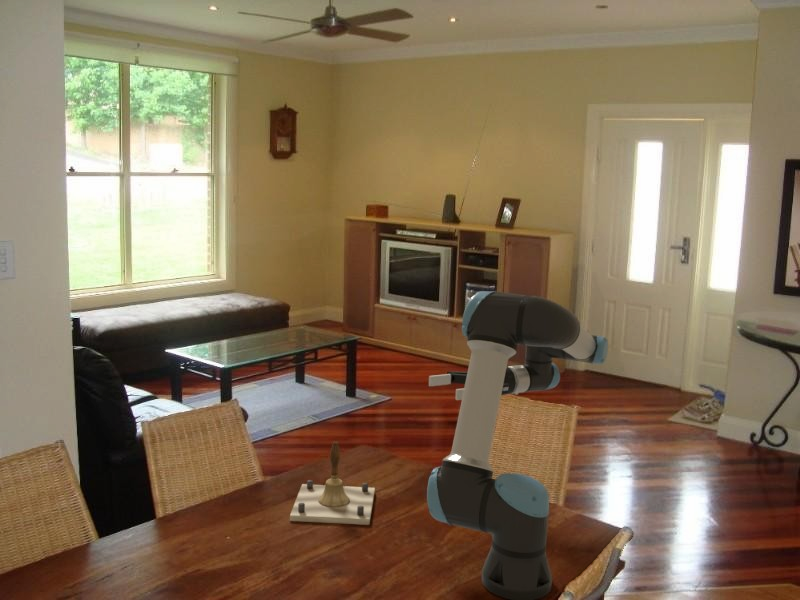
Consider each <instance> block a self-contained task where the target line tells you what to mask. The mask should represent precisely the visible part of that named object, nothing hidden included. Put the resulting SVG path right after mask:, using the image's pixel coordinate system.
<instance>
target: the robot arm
mask: <svg viewBox="0 0 800 600" xmlns="http://www.w3.org/2000/svg"><path fill="white" fill-rule="evenodd" d="M461 323H462V326H461V331H462V335H463V336H464V337H465V338H466V339H467V340H466V344H467V346H468V348H469V350H470V351H471V352H470V353H471V354H470V359H469V363H468V368H467V371H454V370H453V371H451V370H448V371H446V373H445V374H444V373H443V374H437V375H429V376H428V387H436V386H438V387H439V386H451V384H459V385H460V384H462V385H464V387H463V388H456V389H455V396H454V397H455V400H456V401H461V404H460V407H459V411H458V412H459V413H458V417H457V421H456V422H457V423H456V427H455V432H454V436H453V441H452V446H451V450H450V453H449V455H447V456H445V457H444V458H442V461H441V466H438V467H434V468H433V469H432V471H431V473H430V476H429V478H428V480H427V482H428V483H427V488H426V501H427V507H428V511H429V514H430V515H431V517H432V518H433V519H435V520H436V521H438V522H441V523H445V524H448V525H449V526H455V527H461V528H463V529H464V528H465V529H469V530H474V531H477V532H482V533H485V534H490V535H491V547H490V550H489V551H488V554H487V557H486V559H485V561H484V564H483V566H482V570H481V583H482V585H483V587H484V588H486V590H487V591H488V592H490V593H492V594H493V595H495V596H498V597H500V598H504V599H507V600H539V599H542V598H544V597H546V596H547V595H548V594H550V592H551V590H552V583H553V582H552V581H553V579H552V578H553V576H552V572H551V569H550V565H549V561H548V557H547V554H546V551H547V549H546V548H547V538H548V537H547V536H548V526H549V525H548V524H549V514H550V495H549V490H548V489H547V487H546V486H544V485H543V483H542V482H540V481H539V480H537V479H536V478H533V477H531V476H529V475H524V474H523V473H522V474H521V473H517V472H516V473H515V472H514V473H511V472H505V473H501V474H499V475H498V476H497V477H496V478H493V476H494V475H493V474H494V470H493V467H492V466H491V464H490V463H489V461H490V453H491V449H492V443H493V439H494V434H495V428H496V423H497V419H498V414H499V409H500V402H501V397H502V396H505V395H511V394H512V395H513V394H514V395H515V396H517V395H519V394H520V393H528V392H538V391H546V390H551V389H554V388H555V387H557V386H558V384H560V380H561V373H560V372H559V371H560V369H559V367H558V366H557V364H556V363H554V362H553V359H561V360H568V361H574V362H581V363H588V364H591V365H593V364H597V365H598V364H599V365H602V364H604V363H605V361H606V359H607V357H608V356H607V355H608V349H609V343H608V339H607V338H606V337H605V336H602V335H601V336H599V335H594V334H593V335H592V334H590V333H589V332H588V331H587V330H586V329H585V328H584V327H583V326H581V325H580V323H581V322H580V321H579V319H578V317H577V316H576V315H575V313H573V312H572V311H571V310H569V309H568V308H566V307H565V306H563V305H561V304H559V303H557V302H555V301H553V300H551V299H548V298H546V297H543V296H542V297H541V296H538V295H527V294H526V295H525V294H519V293H511V292H505V291H503V292H501V291H497V290H495V291H493V290H492V291H487V290H486V291H485V290H480V291H477V292H476V293H474V295H472V296H471V297H470V299H469V300H468V302H467V304H466V306H465V309H464V312H463V314H462V319H461ZM518 346H525V356H524V357H525V358H524V364H519V365H510V366H508V362H509V359H511V358H512V357H513V356H515V355H516V354H517V350H518Z"/></svg>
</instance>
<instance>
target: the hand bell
mask: <svg viewBox="0 0 800 600" xmlns="http://www.w3.org/2000/svg"><path fill="white" fill-rule="evenodd" d="M329 457H330V462H331V474H330V478H327V480H326V481H325V484H324V485H325V489H324V492H323V494H322V495H321V496H320V497H319V499H318V502H319V503H320V504H322V505H324V506H329V507H339V506H343V505H346V504H348V503H349V501H350V499H349V497H348V496H347V495H346V494H345V492H344V488H343V486H344V483H343V480H342V479H341V478H339V476H338V474H339V470H338V468H339V467H338V466H339V463H340V459H341V449H340V446H339V441H333V443H332V445H331V449H330V453H329Z"/></svg>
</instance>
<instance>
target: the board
mask: <svg viewBox="0 0 800 600" xmlns="http://www.w3.org/2000/svg"><path fill="white" fill-rule="evenodd" d="M343 488H344V492H345V494H346V495H347V496H348V497H349V499H350V501H349V503H348V504H346V505H343V506H339V507H329V506H324V505H322V504H320V503H319V502H318V499H319V497H320V496H321V495H322V494H323V492H324V489H325V484H324V485H323V484H314V481H313V480H312V479H308V480H306V483H302V484H301V486H300V488H299V491H298V493H297V496H296V499H295V501H294V504H293V506H292V509H291V511H290V514H289V521H290V522H304V523H305V522H306V523H308V522H309V523H323V524H324V523H326V524H343V525H347V524H348V525H361V526H363V525H364V526H369V525H370V524H371V523H370V522H371V518H372V517H371V516H372V510H373V506H374V505H373V504H374V498H375V493H376V492H375V490H376V488H375V487H370V486H369V483H368V482H362V484H361V486H348V485H347V486H346V485H345V486H344V485H343Z"/></svg>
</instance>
